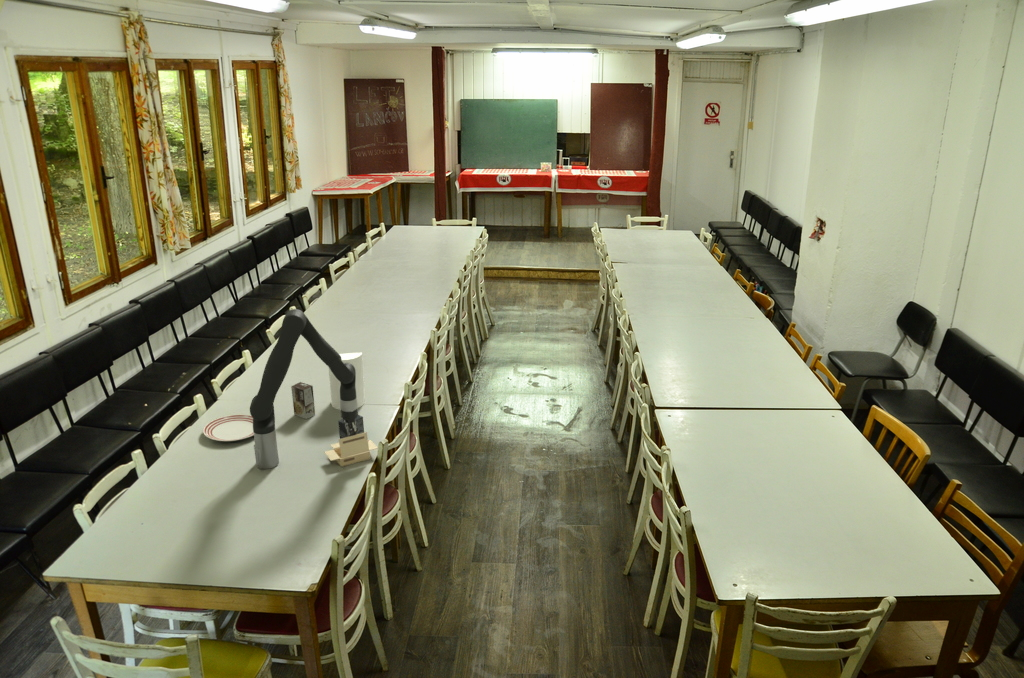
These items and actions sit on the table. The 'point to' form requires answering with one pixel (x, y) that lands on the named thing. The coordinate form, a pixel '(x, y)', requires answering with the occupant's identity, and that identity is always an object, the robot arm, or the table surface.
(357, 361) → the cylinder
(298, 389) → the coffee box
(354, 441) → the front flap
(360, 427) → the small box
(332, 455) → the carton
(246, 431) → the dinner plate
